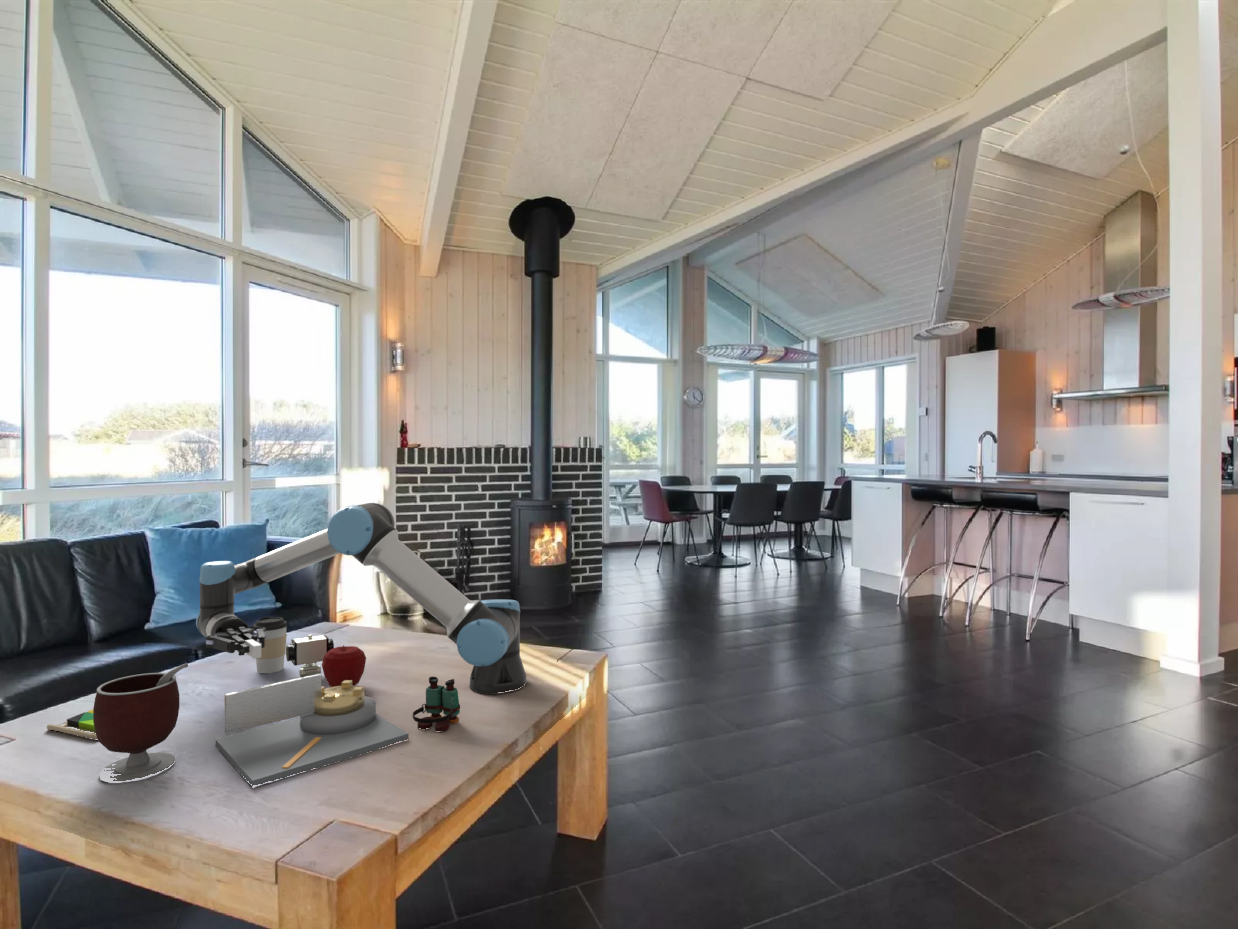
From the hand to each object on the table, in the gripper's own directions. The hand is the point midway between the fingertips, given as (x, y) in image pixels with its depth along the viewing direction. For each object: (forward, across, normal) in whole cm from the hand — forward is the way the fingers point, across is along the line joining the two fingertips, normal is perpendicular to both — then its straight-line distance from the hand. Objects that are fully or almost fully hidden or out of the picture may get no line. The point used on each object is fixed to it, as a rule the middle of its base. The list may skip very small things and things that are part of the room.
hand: (257, 651), depth 148 cm
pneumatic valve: (-35, -24, -19) cm, 47 cm away
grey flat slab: (+11, -8, -19) cm, 23 cm away
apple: (-19, -27, -19) cm, 38 cm away
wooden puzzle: (-34, +21, -20) cm, 45 cm away
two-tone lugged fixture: (+6, -7, -14) cm, 17 cm away
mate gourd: (0, +21, -20) cm, 28 cm away
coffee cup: (-50, -18, -20) cm, 57 cm away
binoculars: (+22, -32, -19) cm, 43 cm away
